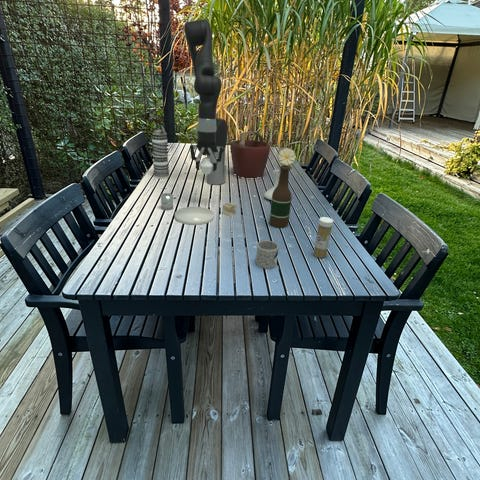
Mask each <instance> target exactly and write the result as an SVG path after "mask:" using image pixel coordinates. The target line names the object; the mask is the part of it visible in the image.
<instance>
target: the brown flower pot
mask: <svg viewBox="0 0 480 480" xmlns="http://www.w3.org/2000/svg"><path fill="white" fill-rule="evenodd" d="M250 134H254V135H256V137H258V140H255V139H245V138H246V136H248V135H250ZM238 137H239V139H236V140H234V141H231V142H230V144H229V145H230V154H231V155H230V156H231V163H232V168H233V169H232V170H233V174H236V175H237V176H239V177H244V178H257V177H262V176H263V175H264V174H265V173H264V172H265V169H266V167H267V166H266V165H267V163H268V159H269V155H270V152H271V146H270V144H269V142H266V141H265V139H264V136H263V135H261V134H260V133H259V132H257V131H251V130H250V131H245V132H242V133H240V134H239V135H238ZM237 176H236V177H237ZM239 177H238V178H239ZM262 178H263V177H262Z"/></svg>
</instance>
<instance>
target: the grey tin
mask: <svg viewBox="0 0 480 480" xmlns="http://www.w3.org/2000/svg"><path fill="white" fill-rule="evenodd" d="M160 205H161V207H160V208H161V210H163V211H172V210H173V209H174V195H173V194H172V193H168V192H166V193H162V194H160Z"/></svg>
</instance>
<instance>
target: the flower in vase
mask: <svg viewBox="0 0 480 480" xmlns="http://www.w3.org/2000/svg"><path fill="white" fill-rule="evenodd" d="M277 156H278V157H277V159H278V161H279V163H280V164H282V165H286V166H289V167H290V170H289V171H291V170H293V166H292V164H294V162H295V160H296V157H297V156H296V153H295V151H294V149H291V148H288V147H286V148H283V149H281V150H280V151H279V153H278V155H277ZM274 167H276V168H278V169H275V170H273V171H272V172H273V175H274V185H273V187H271V188H270V189H268V190H267V191H266V192H264V194H263V197H265V199H268V200H269V201H272V194H273V191H274V189H275V188H276V187H277V186H278V182H279V177H280V171H281V169H280V167H281V166H278V165H276V164H275V163H274Z"/></svg>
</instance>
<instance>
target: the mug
mask: <svg viewBox="0 0 480 480" xmlns="http://www.w3.org/2000/svg"><path fill="white" fill-rule="evenodd" d="M279 246H280V245H279V244H278V243H277V242H274V241H272V240H266V239H264V240H261V241H258V242H257V247H256V258H255V264H256V266H257V268H261V269H264V270H271V269H274V268H276V266H277V264H278V263H277V262H278V255H279V254H278V253H279V248H280V247H279Z"/></svg>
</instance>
